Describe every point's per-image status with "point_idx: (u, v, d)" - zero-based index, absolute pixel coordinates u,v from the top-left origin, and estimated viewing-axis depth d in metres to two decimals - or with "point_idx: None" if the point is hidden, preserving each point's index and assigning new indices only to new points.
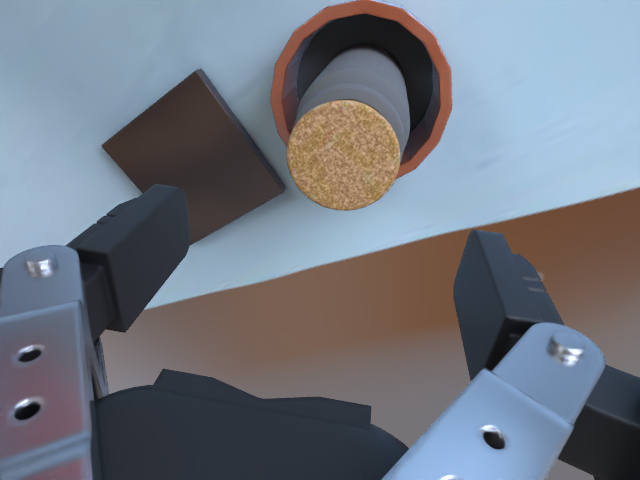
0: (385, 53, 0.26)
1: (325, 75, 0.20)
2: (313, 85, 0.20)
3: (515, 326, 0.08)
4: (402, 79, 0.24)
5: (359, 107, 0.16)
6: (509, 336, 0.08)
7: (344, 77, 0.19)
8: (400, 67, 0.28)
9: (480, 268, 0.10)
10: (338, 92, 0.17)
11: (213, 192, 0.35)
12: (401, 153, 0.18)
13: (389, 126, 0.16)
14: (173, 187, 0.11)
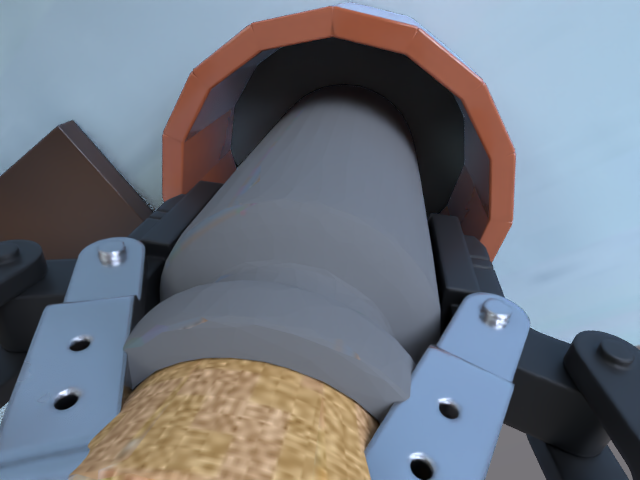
0: (380, 107, 0.14)
1: (216, 214, 0.07)
2: (187, 236, 0.08)
3: (455, 297, 0.08)
4: (414, 169, 0.12)
5: None
6: (450, 306, 0.08)
7: (262, 228, 0.07)
8: (407, 126, 0.16)
9: (433, 248, 0.10)
10: (212, 336, 0.05)
11: None
12: None
13: None
14: (218, 183, 0.12)
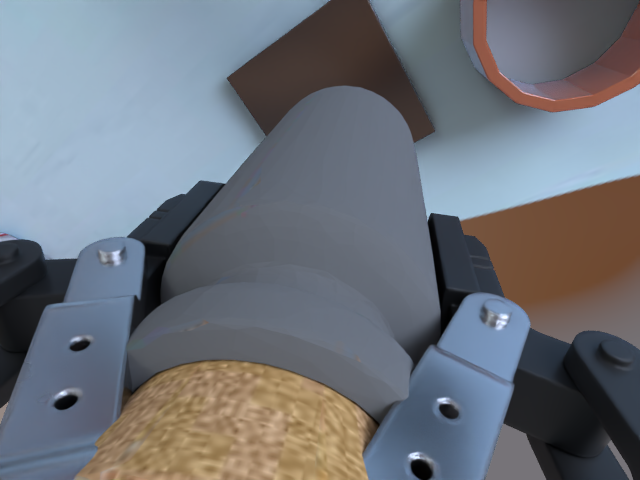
0: (380, 108, 0.14)
1: (217, 215, 0.07)
2: (188, 237, 0.08)
3: (455, 297, 0.08)
4: (415, 170, 0.12)
5: None
6: (450, 306, 0.08)
7: (263, 231, 0.07)
8: (408, 127, 0.16)
9: (433, 248, 0.10)
10: (213, 339, 0.05)
11: None
12: None
13: None
14: (218, 183, 0.12)
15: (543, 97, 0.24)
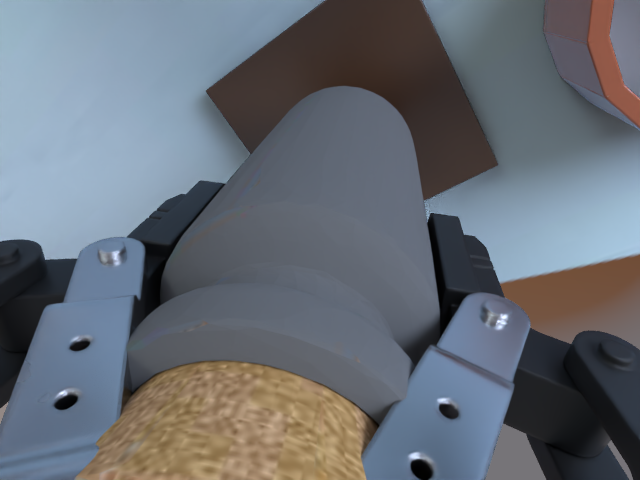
0: (380, 108, 0.14)
1: (216, 216, 0.07)
2: (188, 238, 0.08)
3: (456, 297, 0.08)
4: (414, 170, 0.12)
5: None
6: (450, 306, 0.08)
7: (262, 231, 0.07)
8: (407, 128, 0.16)
9: (433, 248, 0.10)
10: (213, 340, 0.05)
11: None
12: None
13: None
14: (218, 183, 0.12)
15: None
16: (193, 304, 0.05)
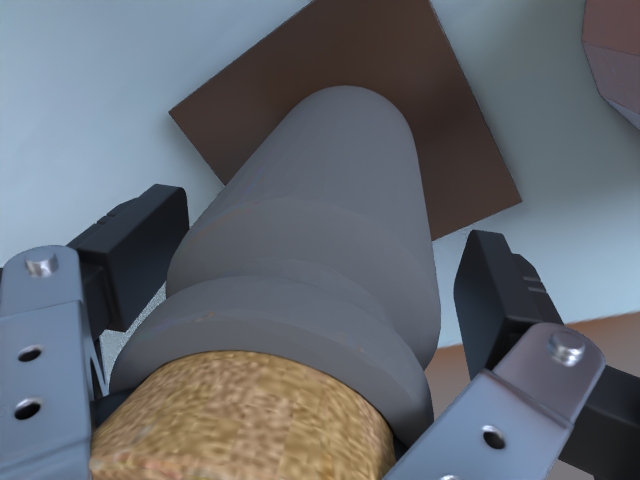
0: (381, 107, 0.14)
1: (221, 212, 0.07)
2: (193, 233, 0.08)
3: (515, 326, 0.08)
4: (415, 168, 0.12)
5: None
6: (509, 336, 0.08)
7: (266, 226, 0.07)
8: (408, 126, 0.16)
9: (480, 268, 0.10)
10: (220, 330, 0.05)
11: None
12: None
13: None
14: (173, 187, 0.11)
15: None
16: (200, 296, 0.06)
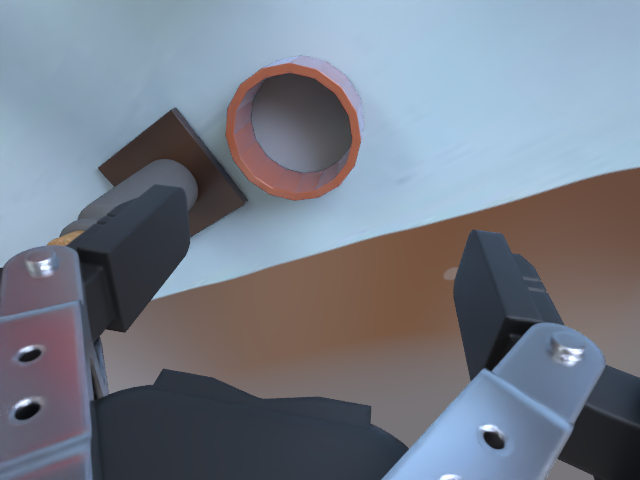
0: (169, 170, 0.39)
1: (87, 207, 0.32)
2: (81, 212, 0.32)
3: (515, 326, 0.08)
4: None
5: None
6: (509, 336, 0.08)
7: (95, 210, 0.31)
8: (188, 175, 0.40)
9: (480, 268, 0.10)
10: (76, 226, 0.30)
11: None
12: None
13: None
14: (173, 187, 0.11)
15: (285, 191, 0.36)
16: (74, 221, 0.30)
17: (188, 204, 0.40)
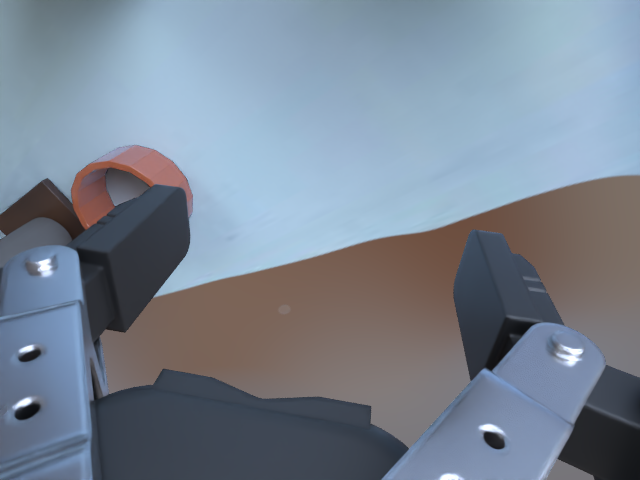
0: (41, 229, 0.48)
1: None
2: None
3: (515, 326, 0.08)
4: None
5: None
6: (509, 336, 0.08)
7: None
8: (61, 230, 0.50)
9: (480, 268, 0.10)
10: None
11: None
12: None
13: None
14: (173, 187, 0.11)
15: None
16: None
17: None
